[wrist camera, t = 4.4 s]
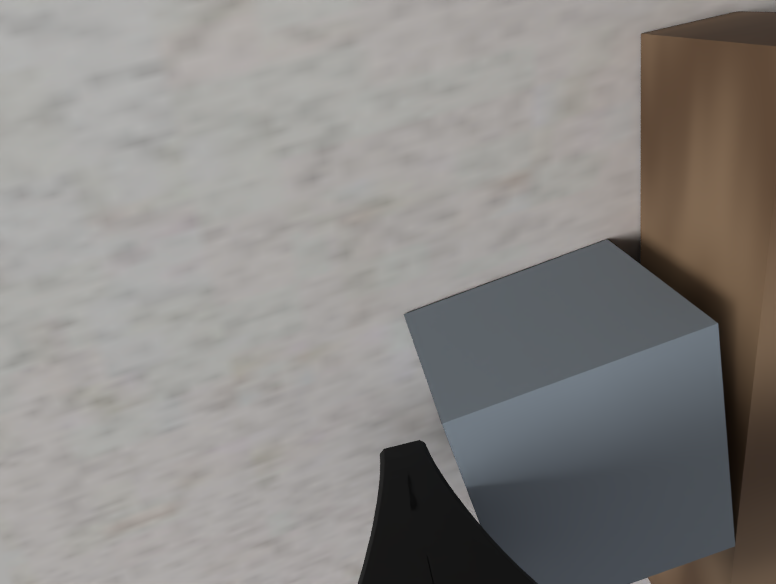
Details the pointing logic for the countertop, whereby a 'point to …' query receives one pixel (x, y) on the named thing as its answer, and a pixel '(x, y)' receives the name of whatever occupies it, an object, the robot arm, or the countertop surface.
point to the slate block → (584, 417)
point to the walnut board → (720, 244)
